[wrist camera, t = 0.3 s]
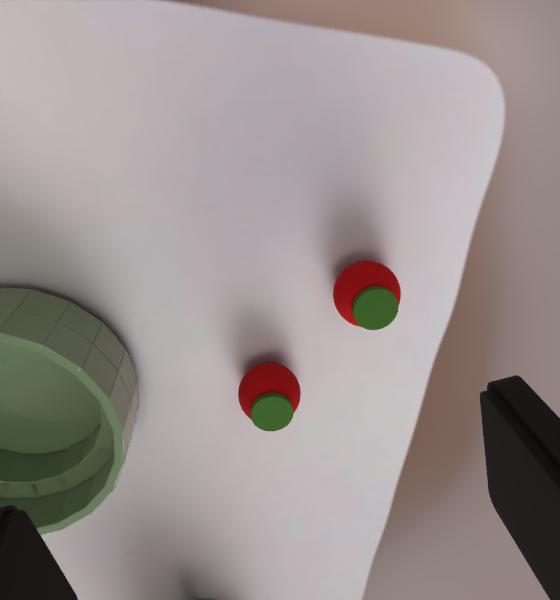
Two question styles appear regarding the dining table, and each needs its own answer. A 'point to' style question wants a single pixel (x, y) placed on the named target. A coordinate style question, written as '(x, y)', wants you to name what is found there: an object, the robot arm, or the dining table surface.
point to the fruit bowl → (60, 408)
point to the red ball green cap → (367, 295)
